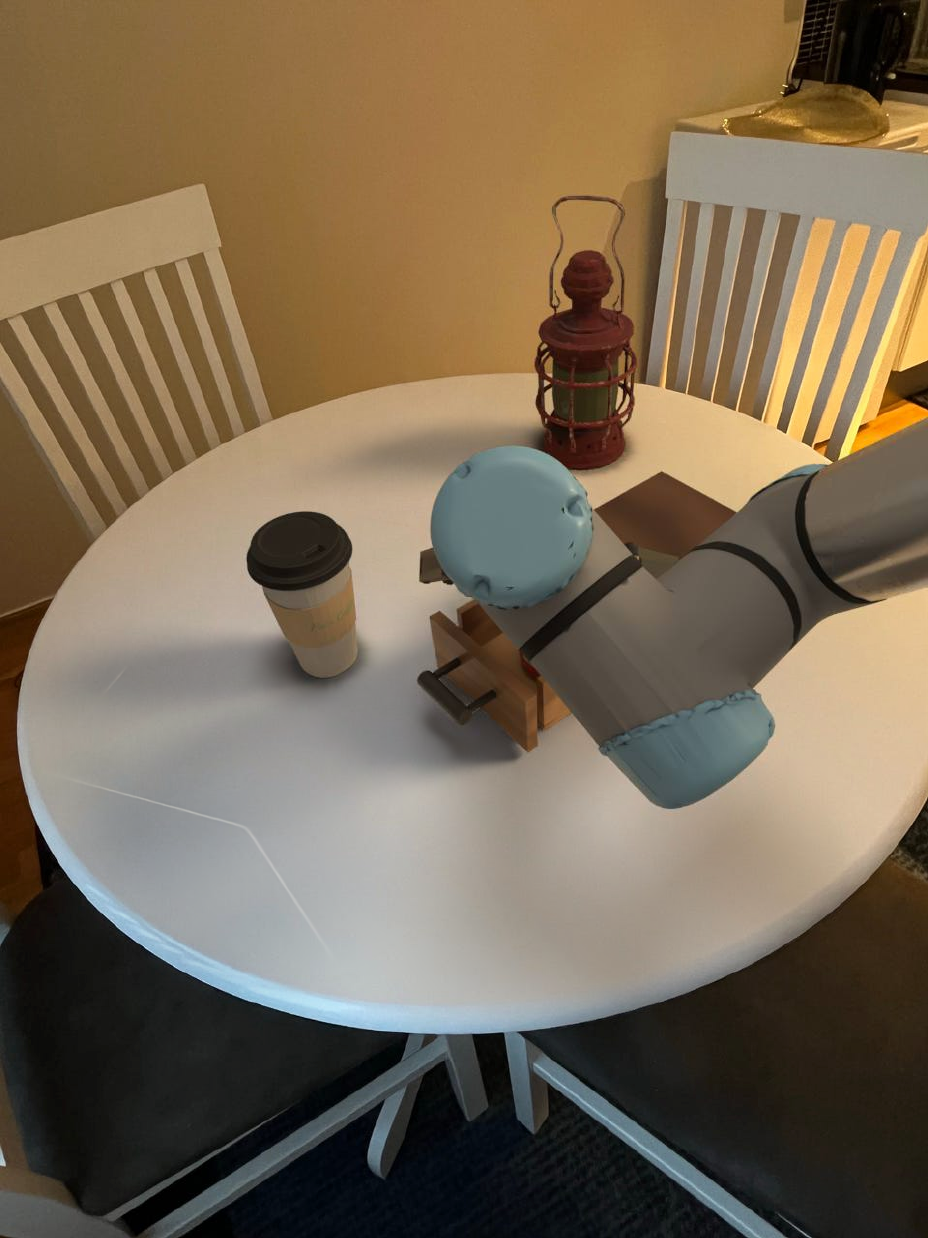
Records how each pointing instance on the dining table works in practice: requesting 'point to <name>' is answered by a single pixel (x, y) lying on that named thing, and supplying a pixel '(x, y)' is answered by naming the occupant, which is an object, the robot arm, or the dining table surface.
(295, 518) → the coffee cup
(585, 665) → the robot arm
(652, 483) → the cabinet
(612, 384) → the lantern
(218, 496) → the dining table surface
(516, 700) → the drawer
